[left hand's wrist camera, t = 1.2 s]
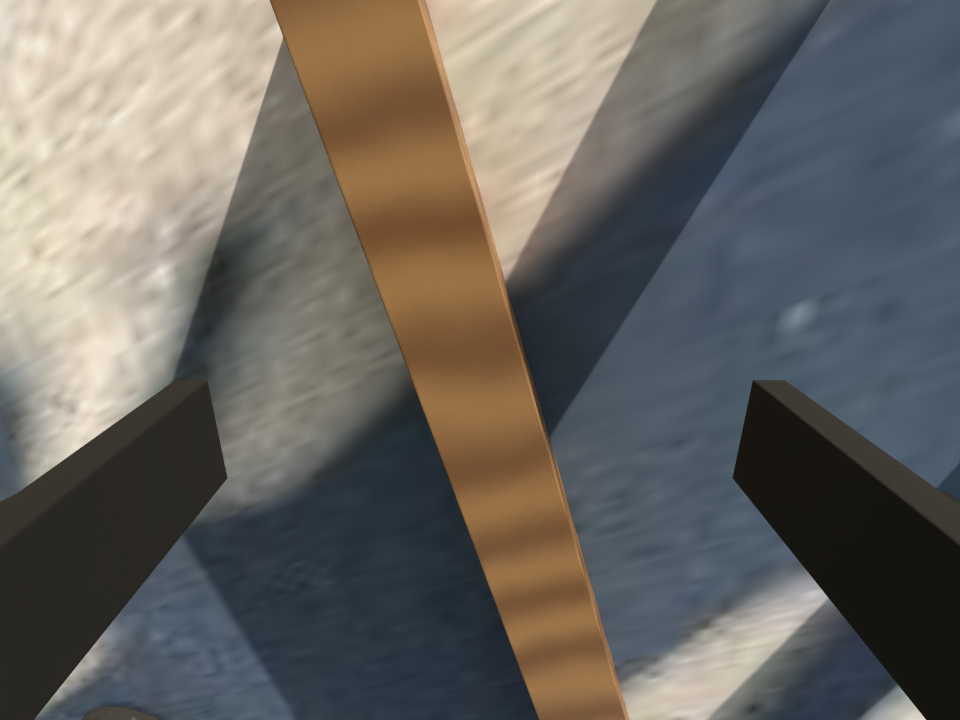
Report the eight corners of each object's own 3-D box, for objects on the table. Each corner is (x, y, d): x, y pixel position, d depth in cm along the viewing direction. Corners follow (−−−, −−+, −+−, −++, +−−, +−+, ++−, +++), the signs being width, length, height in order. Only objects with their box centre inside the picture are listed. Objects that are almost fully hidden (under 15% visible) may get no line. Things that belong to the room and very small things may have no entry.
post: (302, -27, 26) (231, -100, 19) (406, -66, 26) (374, -157, 18) (569, 735, 46) (584, 841, 39) (630, 724, 46) (657, 829, 39)
